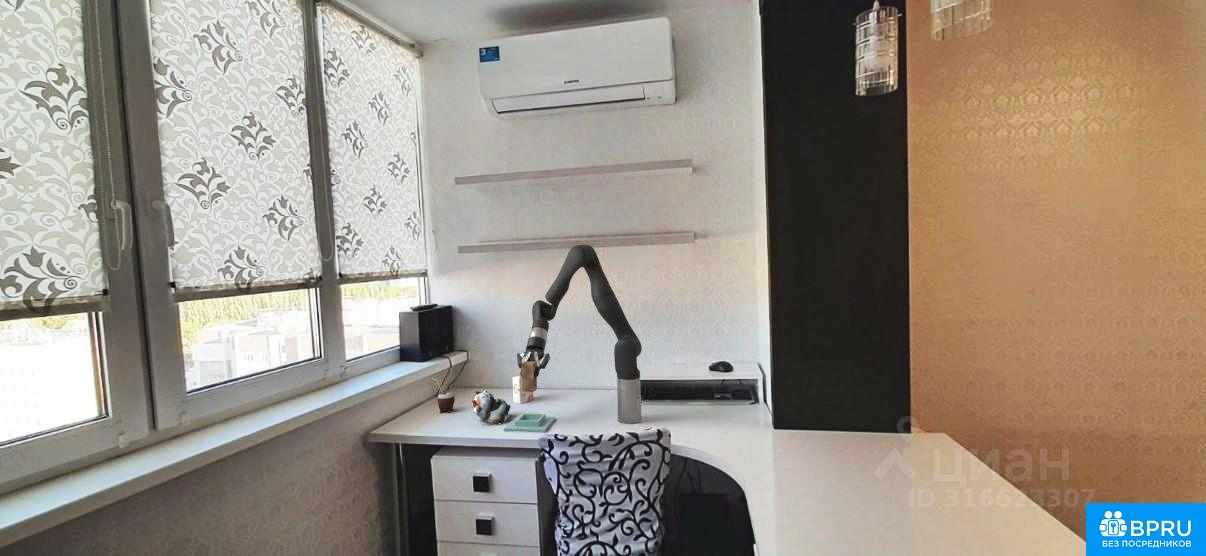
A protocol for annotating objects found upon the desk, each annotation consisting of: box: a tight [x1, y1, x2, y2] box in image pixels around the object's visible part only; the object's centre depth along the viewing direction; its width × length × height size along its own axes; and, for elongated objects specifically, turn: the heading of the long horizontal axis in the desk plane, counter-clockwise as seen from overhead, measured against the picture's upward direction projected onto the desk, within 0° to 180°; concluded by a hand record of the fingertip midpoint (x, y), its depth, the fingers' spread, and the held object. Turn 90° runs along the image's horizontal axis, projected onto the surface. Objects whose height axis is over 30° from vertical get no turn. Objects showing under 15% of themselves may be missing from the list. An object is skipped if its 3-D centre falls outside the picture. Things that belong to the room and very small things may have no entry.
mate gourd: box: [431, 377, 456, 414], centre depth 209 cm, size 8×8×15 cm
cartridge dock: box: [503, 412, 557, 433], centre depth 189 cm, size 16×16×3 cm
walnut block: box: [522, 361, 538, 393], centre depth 188 cm, size 4×4×11 cm
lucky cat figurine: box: [471, 390, 511, 425], centre depth 195 cm, size 15×12×14 cm
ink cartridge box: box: [512, 371, 534, 405], centre depth 223 cm, size 9×5×15 cm, turn 143°
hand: (528, 376), depth 188 cm, fingers closed on walnut block, 4 cm apart
